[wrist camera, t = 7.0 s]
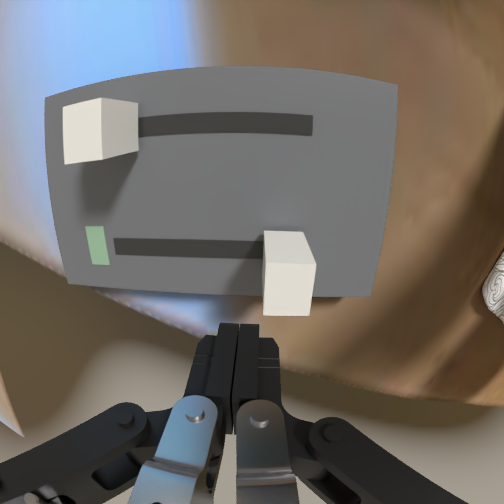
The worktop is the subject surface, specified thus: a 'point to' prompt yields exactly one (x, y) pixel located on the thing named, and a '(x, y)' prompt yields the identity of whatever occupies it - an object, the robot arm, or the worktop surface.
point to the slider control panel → (228, 180)
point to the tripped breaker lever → (287, 274)
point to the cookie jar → (495, 289)
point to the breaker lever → (99, 129)
